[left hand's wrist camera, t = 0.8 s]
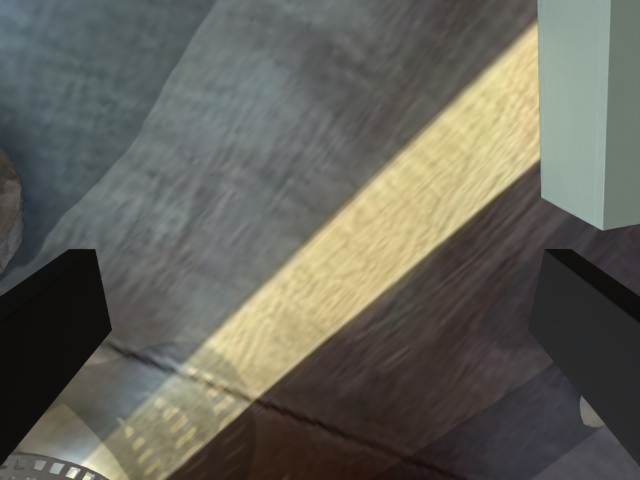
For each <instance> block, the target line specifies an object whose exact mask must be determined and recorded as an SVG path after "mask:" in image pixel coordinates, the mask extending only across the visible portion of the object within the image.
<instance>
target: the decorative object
mask: <svg viewBox="0 0 640 480" xmlns="http://www.w3.org/2000/svg"><path fill="white" fill-rule="evenodd" d="M7 459H9V462H8V465H7V466H4V465H1V466H0V476H4V477H3V480H14V477H20V478H19V480H29V478H36V480H82V479H83V478H84V476H85V475H87V476H89V477H91V479H90V480H109V479H107V478H106V477H104V476H103V475H101V474H99V473H97V472H95V471H93V470H91V469H89V468H86V467H83V466H80V465H78V464H75V463H72V462H68V461H63V460H60V459H56V458H53V457H49V456H44V455H39V454H33V453H24V452H12V453H11V454H10V455H9V457H8V458H7ZM20 459H28V461H27V464H26V466H25V467H18V465H19V462H20ZM37 460H43V461H47V462H46V464H45V466H44V467H43V469H42V471H41V470H37V469H34V467H35V465H36V462H37ZM54 462H55V463H60V464H63V465H64V466H63V467H62V469H61V471H60V473H59V474H53V473H49V472H50V470H51V468H52V466H53V464H54ZM70 468H73V469H75V470H78V472H77V474H76V476H75V477H74V479H72V478H69V477H66V476H65V475H66V474H67V472H68V471H69V469H70Z"/></svg>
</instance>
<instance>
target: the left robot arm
mask: <svg viewBox="0 0 640 480" xmlns="http://www.w3.org/2000/svg"><path fill="white" fill-rule="evenodd" d="M111 331H112V328H111V323H110V318H109V313H108V308H107V304H106V299H105V294H104V289H103V284H102V280H101V275H100V270H99V265H98V260H97V255H96V251H95V249H68V250H67V251H66V252H64V253H63V254H61V255H60V256H58V257H57V258H55V259H54V260H53V261H51V262H50V263H48V264H47V265H45V266H44V267H42V268H41V269H40V270H38V271H37V272H35V273H34V274H32V275H31V276H29V277H28V278H27V279H25V280H24V281H22V282H21V283H19V284H18V285H16V286H15V287H14V288H12V289H11V290H9V291H8V292H6V293H5V294H3V295H2V296H1V297H0V466H1V465H2V464H3V463H4V461H5V460H6V459H7V458H8V457H9V455H10V454H11V453H12V452H13V450H14V449H15V448H16V447H17V446H18V444H19V443H20V442H21V441H22V439H23V438H24V437H25V436H26V435H27V433H28V432H29V431H30V430H31V428H32V427H33V426H34V425H35V424H36V422H37V421H38V420H39V419H40V417H41V416H42V415H43V414H44V412H45V411H46V410H47V409H48V408H49V406H50V405H51V404H52V403H53V401H54V400H55V399H56V398H57V397H58V395H59V394H60V393H61V392H62V390H63V389H64V388H65V387H66V386H67V384H68V383H69V382H70V381H71V379H72V378H73V377H74V376H75V375H76V373H77V372H78V371H79V370H80V368H81V367H82V366H83V365H84V364H85V362H86V361H87V360H88V359H89V357H90V356H91V355H92V354H93V353H94V351H95V350H96V349H97V348H98V346H99V345H100V344H101V343H102V342H103V340H104V339H105V338H106V337H107V335H108V334H109V333H110V332H111ZM528 331H529V332H530V333H531V334H532V335H533V337H534V338H535V339H536V340H537V342H538V343H539V344H540V345H541V346H542V348H543V349H544V350H545V351H546V353H547V354H548V355H549V356H550V357H551V359H552V360H553V361H554V362H555V364H556V365H557V366H558V367H559V368H560V370H561V371H562V372H563V373H564V375H565V376H566V377H567V378H568V379H569V381H570V382H571V383H572V384H573V386H574V387H575V388H576V389H577V390H578V392H579V393H580V394H581V395H582V397H583V398H584V399H585V400H586V401H587V403H588V404H589V405H590V406H591V408H592V409H593V410H594V411H595V413H596V414H597V415H598V416H599V417H600V419H601V420H602V421H603V422H604V424H605V425H606V426H607V427H608V428H609V430H610V431H611V432H612V433H613V435H614V436H615V437H616V438H617V439H618V441H619V442H620V443H621V444H622V446H623V447H624V448H625V449H626V450H627V452H628V453H629V454H630V455H631V457H632V458H633V459H634V460H635V461H636V463H637V464H638V465H639V466H640V297H639V296H638V295H637V294H635V293H634V292H632V291H631V290H629V289H628V288H626V287H625V286H624V285H622V284H621V283H619V282H618V281H616V280H615V279H613V278H612V277H611V276H609V275H608V274H606V273H605V272H603V271H602V270H600V269H599V268H598V267H596V266H595V265H593V264H592V263H590V262H589V261H587V260H586V259H585V258H583V257H582V256H580V255H579V254H577V253H576V252H574V251H573V250H572V249H545V251H544V255H543V260H542V265H541V270H540V275H539V280H538V284H537V289H536V294H535V299H534V304H533V308H532V313H531V318H530V323H529V328H528Z"/></svg>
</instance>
